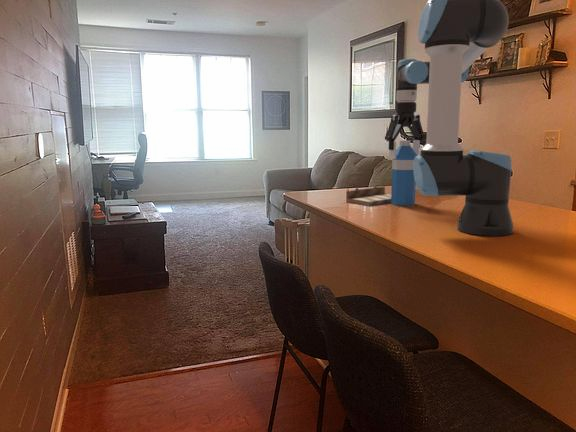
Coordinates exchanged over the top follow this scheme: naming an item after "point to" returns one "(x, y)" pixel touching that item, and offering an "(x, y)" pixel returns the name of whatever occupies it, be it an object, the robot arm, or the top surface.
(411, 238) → the top surface
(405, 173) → the water bottle
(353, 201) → the ledge board
